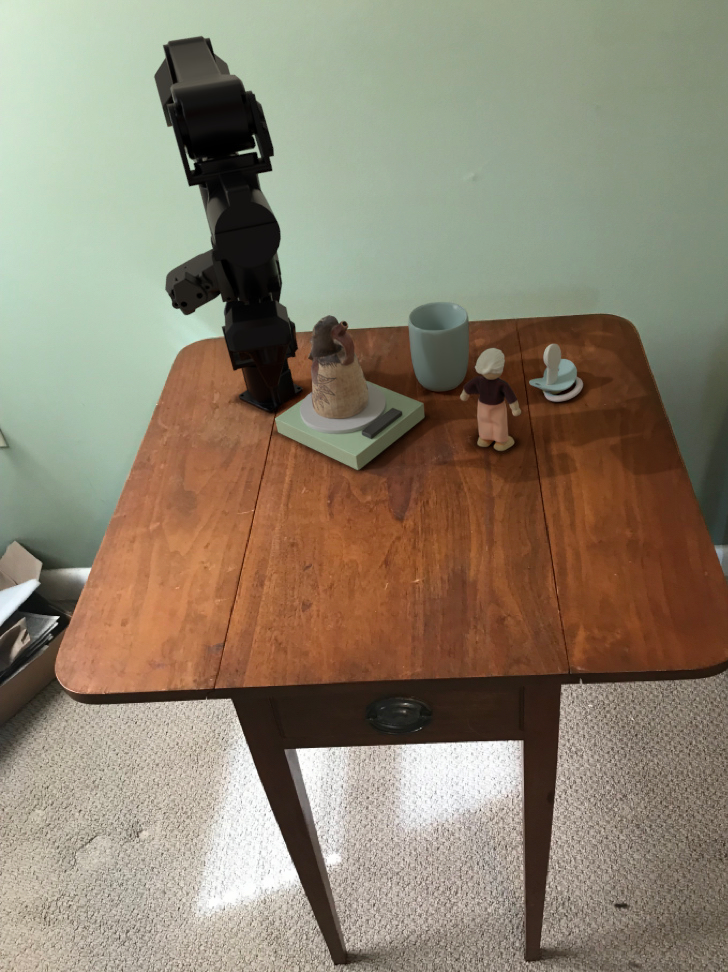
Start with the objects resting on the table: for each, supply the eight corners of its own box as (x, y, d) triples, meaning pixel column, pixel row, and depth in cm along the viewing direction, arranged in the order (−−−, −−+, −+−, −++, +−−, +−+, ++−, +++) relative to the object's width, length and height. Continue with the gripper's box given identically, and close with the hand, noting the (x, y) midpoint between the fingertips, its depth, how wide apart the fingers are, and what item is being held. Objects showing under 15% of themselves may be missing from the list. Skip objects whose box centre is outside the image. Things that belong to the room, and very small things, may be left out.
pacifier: (592, 385, 102) (553, 370, 105) (598, 343, 97) (557, 329, 100) (561, 411, 98) (522, 395, 101) (566, 369, 94) (525, 353, 97)
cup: (471, 397, 102) (469, 329, 95) (412, 401, 102) (407, 333, 95) (468, 366, 107) (467, 299, 100) (413, 369, 108) (408, 303, 101)
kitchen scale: (278, 432, 99) (273, 414, 98) (345, 385, 106) (342, 367, 104) (358, 470, 93) (355, 452, 91) (424, 417, 99) (423, 399, 97)
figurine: (340, 382, 102) (326, 297, 93) (380, 398, 98) (370, 312, 90) (302, 408, 98) (284, 322, 90) (343, 426, 94) (329, 339, 86)
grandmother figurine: (525, 436, 95) (528, 344, 86) (518, 455, 92) (520, 362, 83) (465, 428, 97) (462, 338, 88) (456, 446, 94) (452, 355, 86)
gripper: (160, 204, 82) (199, 336, 93) (152, 280, 69) (198, 423, 79) (264, 188, 83) (291, 321, 94) (276, 261, 69) (305, 405, 80)
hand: (270, 364), depth 87 cm, fingers open, 9 cm apart
